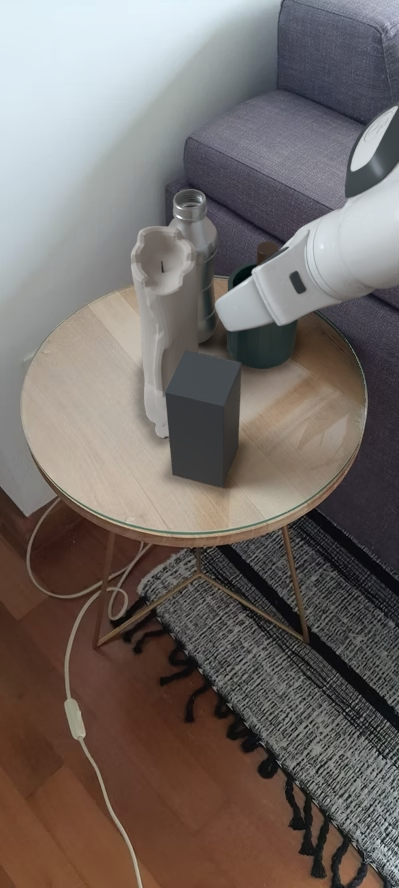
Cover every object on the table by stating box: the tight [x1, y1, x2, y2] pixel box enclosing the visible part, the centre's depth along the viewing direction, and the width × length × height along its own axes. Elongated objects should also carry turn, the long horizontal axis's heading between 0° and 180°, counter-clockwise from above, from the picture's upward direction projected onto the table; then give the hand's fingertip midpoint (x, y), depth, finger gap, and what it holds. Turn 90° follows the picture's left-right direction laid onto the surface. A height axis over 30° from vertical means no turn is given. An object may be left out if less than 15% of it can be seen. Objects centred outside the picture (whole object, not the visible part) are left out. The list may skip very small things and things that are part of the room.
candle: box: [130, 225, 200, 439], centre depth 77 cm, size 7×14×20 cm, turn 2°
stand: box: [165, 350, 243, 489], centre depth 73 cm, size 6×6×14 cm
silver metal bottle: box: [168, 188, 220, 345], centre depth 83 cm, size 6×7×20 cm
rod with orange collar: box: [256, 241, 279, 267], centre depth 84 cm, size 4×4×14 cm
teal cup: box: [226, 260, 299, 370], centre depth 86 cm, size 9×9×10 cm
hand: (261, 288), depth 83 cm, fingers closed on rod with orange collar, 2 cm apart
